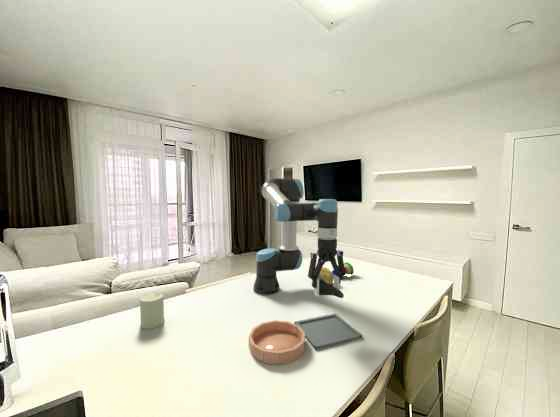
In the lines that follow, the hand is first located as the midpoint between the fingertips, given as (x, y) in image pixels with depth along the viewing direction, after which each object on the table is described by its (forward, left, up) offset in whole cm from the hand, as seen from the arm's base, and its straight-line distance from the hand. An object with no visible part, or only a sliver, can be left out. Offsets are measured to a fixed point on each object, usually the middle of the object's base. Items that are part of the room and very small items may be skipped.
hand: (326, 293), depth 98 cm
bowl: (+2, -22, -15) cm, 27 cm away
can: (-32, -67, -16) cm, 76 cm away
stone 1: (-47, +26, -16) cm, 56 cm away
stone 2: (0, 0, -1) cm, 1 cm away
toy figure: (-53, +45, -16) cm, 72 cm away
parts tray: (0, 0, -15) cm, 15 cm away
